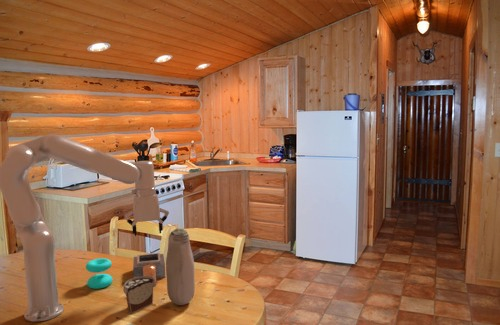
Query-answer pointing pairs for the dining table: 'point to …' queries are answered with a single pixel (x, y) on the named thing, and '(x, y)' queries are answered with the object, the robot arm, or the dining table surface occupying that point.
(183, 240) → the beige bottle
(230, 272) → the dining table surface
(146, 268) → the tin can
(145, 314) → the dining table surface
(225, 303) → the dining table surface
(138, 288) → the brown piece
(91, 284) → the donuts
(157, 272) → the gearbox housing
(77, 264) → the dining table surface
